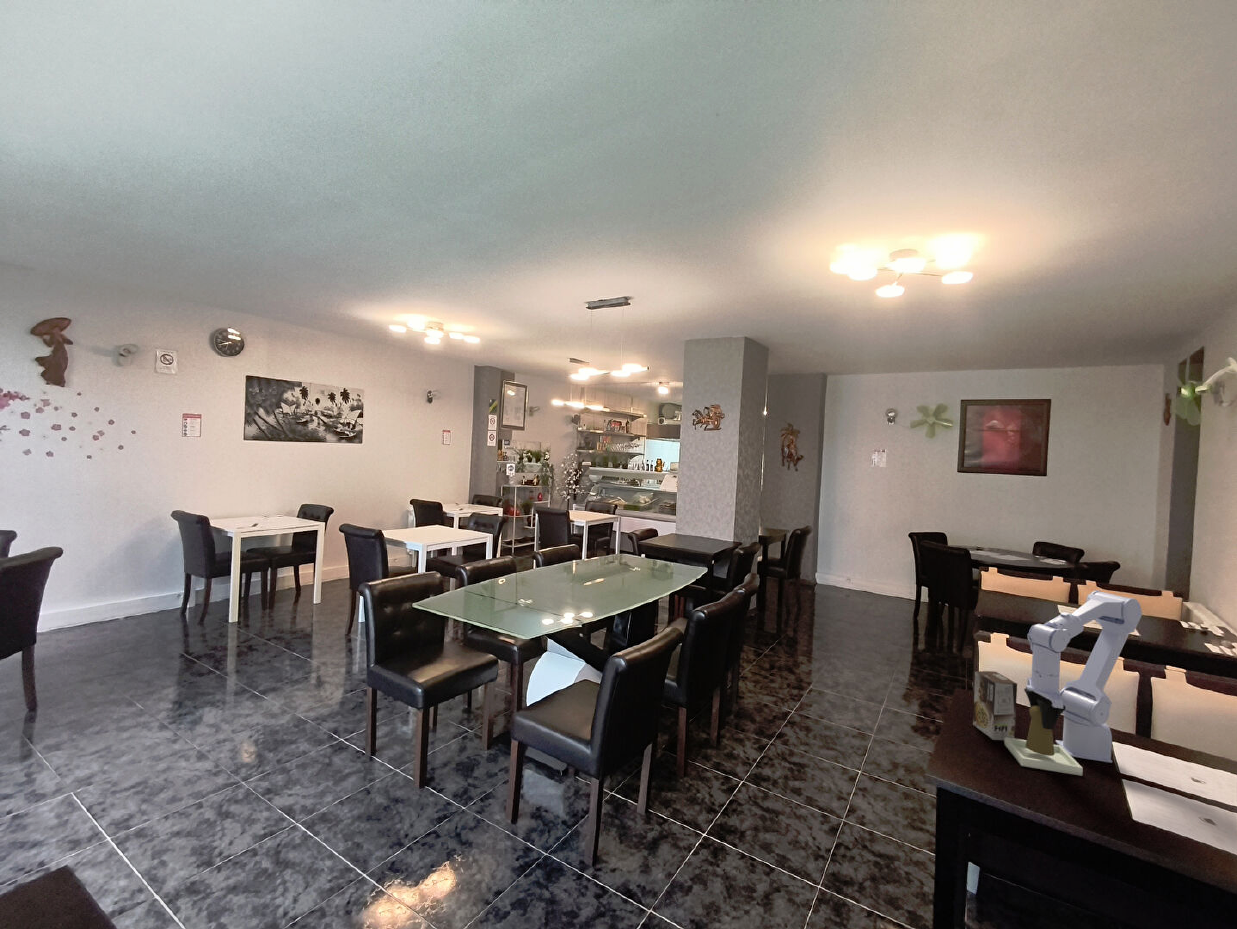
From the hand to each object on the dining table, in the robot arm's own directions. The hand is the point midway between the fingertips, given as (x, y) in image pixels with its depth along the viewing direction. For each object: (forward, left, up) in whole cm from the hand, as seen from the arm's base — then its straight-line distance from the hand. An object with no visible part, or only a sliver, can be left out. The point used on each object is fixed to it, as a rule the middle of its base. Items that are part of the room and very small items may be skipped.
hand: (1042, 723), depth 143 cm
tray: (0, 0, -9) cm, 9 cm away
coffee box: (+7, -12, -10) cm, 17 cm away
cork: (+1, +1, -7) cm, 7 cm away
